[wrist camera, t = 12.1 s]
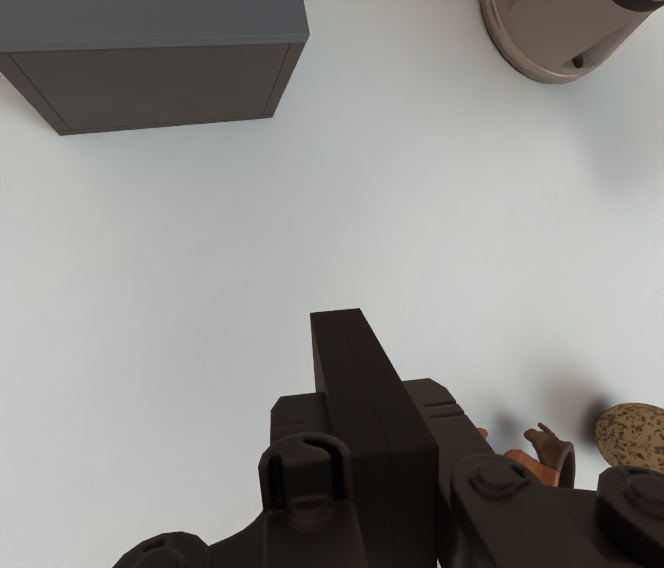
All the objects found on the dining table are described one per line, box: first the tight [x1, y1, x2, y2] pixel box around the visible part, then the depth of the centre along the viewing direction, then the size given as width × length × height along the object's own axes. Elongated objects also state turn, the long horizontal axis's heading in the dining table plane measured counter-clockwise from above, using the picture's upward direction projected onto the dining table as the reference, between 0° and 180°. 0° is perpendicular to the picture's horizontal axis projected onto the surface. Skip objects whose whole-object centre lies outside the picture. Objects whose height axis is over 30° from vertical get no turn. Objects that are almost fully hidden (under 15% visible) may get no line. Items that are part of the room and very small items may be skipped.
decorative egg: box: [595, 403, 664, 474], centre depth 39 cm, size 7×7×10 cm
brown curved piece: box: [477, 423, 575, 489], centre depth 37 cm, size 12×10×8 cm
